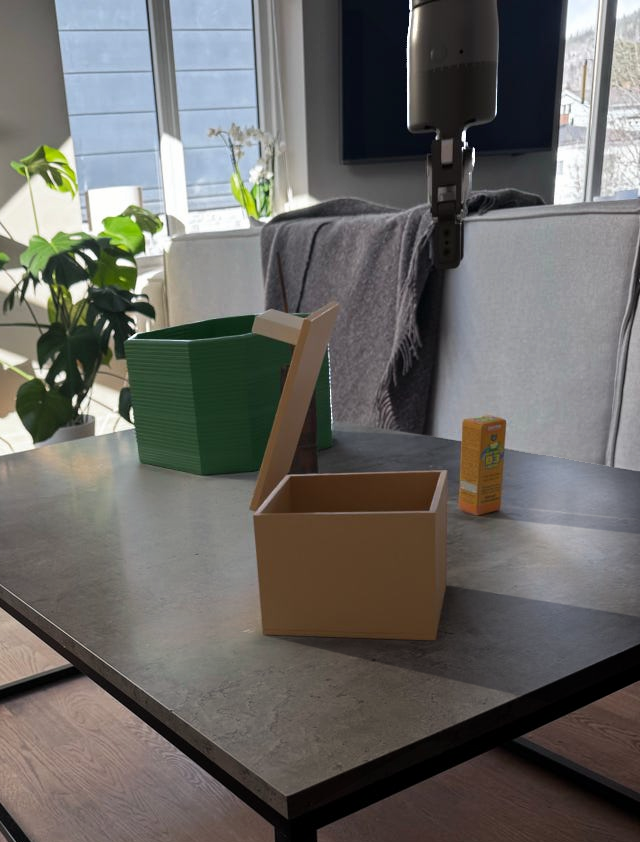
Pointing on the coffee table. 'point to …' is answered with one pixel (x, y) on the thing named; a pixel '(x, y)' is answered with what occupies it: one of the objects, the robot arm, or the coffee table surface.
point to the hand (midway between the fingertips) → (449, 265)
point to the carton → (353, 555)
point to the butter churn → (307, 444)
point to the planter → (212, 394)
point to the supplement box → (482, 464)
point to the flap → (292, 387)
